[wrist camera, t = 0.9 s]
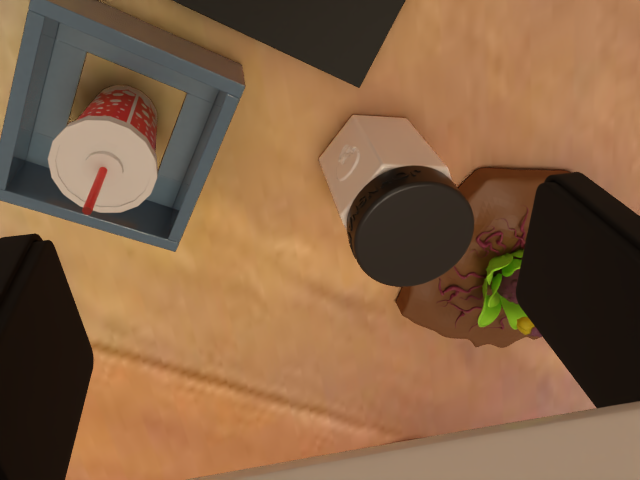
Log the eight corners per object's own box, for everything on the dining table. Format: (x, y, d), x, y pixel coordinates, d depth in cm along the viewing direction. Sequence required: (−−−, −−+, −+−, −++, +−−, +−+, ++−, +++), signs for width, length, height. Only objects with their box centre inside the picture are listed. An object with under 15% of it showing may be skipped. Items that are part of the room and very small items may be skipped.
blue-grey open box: (53, -20, 34) (31, -7, 30) (242, 65, 39) (245, 86, 35) (11, 165, 40) (-13, 197, 36) (179, 218, 45) (175, 252, 40)
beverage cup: (64, 125, 39) (1, 225, 27) (105, 56, 37) (54, 133, 25) (142, 168, 42) (114, 276, 30) (183, 106, 40) (170, 196, 28)
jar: (367, 88, 41) (416, 152, 31) (440, 143, 45) (505, 215, 35) (299, 177, 44) (324, 261, 34) (373, 221, 48) (414, 308, 38)
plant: (454, 140, 45) (516, 206, 36) (634, 187, 51) (727, 254, 41) (371, 320, 54) (403, 408, 45) (530, 342, 60) (587, 424, 51)
